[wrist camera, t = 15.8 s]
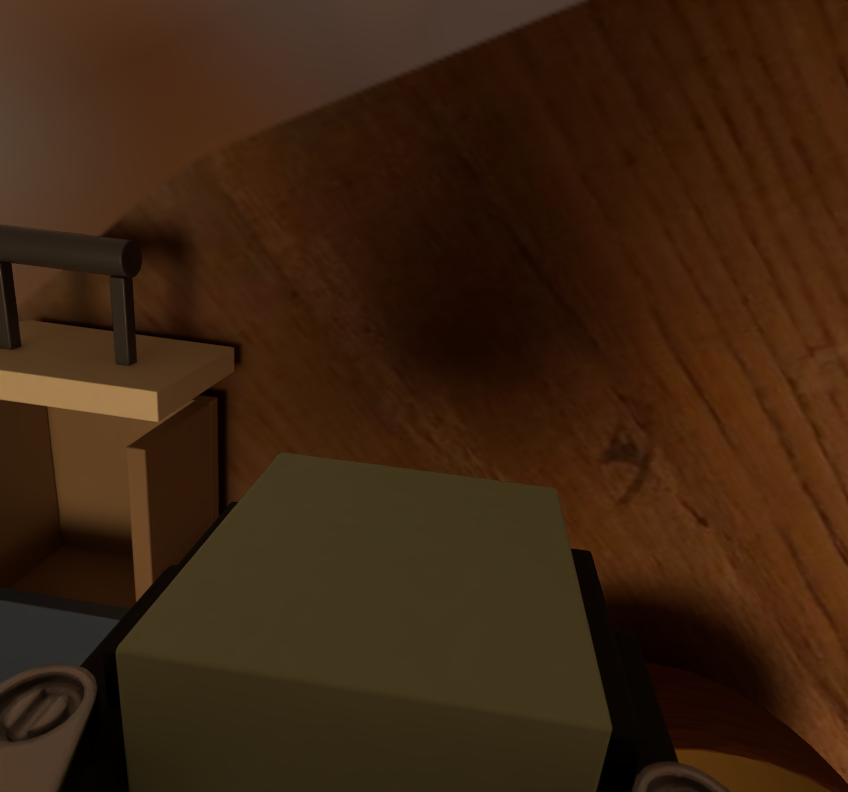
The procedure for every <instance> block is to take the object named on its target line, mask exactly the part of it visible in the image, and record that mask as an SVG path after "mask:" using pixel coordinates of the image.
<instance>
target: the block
mask: <svg viewBox="0 0 848 792" xmlns="http://www.w3.org/2000/svg"><path fill="white" fill-rule="evenodd" d="M116 663H117V673H118V684H119V694H120V704H121V715H122V725H123V735H124V746H125V756H126V766H127V777H128V787H129V792H596V790H597V786H598V783H599V779H600V775H601V771H602V767H603V763H604V759H605V755H606V751H607V747H608V744H609V740H610V736H611V732H612V724H611V720H610V715H609V711H608V707H607V703H606V698H605V694H604V690H603V685H602V681H601V677H600V672H599V668H598V664H597V660H596V655H595V651H594V647H593V642H592V638H591V634H590V630H589V625H588V621H587V617H586V612H585V608H584V604H583V600H582V595H581V591H580V587H579V582H578V578H577V574H576V570H575V565H574V561H573V557H572V552H571V548H570V544H569V540H568V535H567V531H566V527H565V522H564V518H563V514H562V510H561V505H560V501H559V497H558V492H557V489H555V488H552V487H544V486H537V485H529V484H521V483H514V482H506V481H498V480H491V479H483V478H475V477H468V476H460V475H453V474H445V473H437V472H430V471H422V470H414V469H407V468H399V467H392V466H384V465H376V464H369V463H361V462H353V461H346V460H338V459H330V458H323V457H315V456H308V455H300V454H292V453H285V452H282V453H279V454H278V456H277V457H276V458H275V459H274V460H273V462H272V463H271V464H270V465H269V466H268V468H267V469H266V470H265V471H264V472H263V473H262V475H261V476H260V477H259V478H258V479H257V481H256V482H255V483H254V484H253V485H252V487H251V488H250V489H249V490H248V491H247V493H246V494H245V495H244V496H243V497H242V499H241V500H240V501H239V502H238V503H237V504H236V506H235V507H234V508H233V509H232V510H231V512H230V513H229V514H228V515H227V516H226V518H225V519H224V520H223V521H222V522H221V524H220V525H219V526H218V527H217V528H216V530H215V531H214V532H213V533H212V534H211V536H210V537H209V538H208V539H207V540H206V541H205V543H204V544H203V545H202V546H201V547H200V549H199V550H198V551H197V552H196V553H195V555H194V556H193V557H192V558H191V559H190V561H189V562H188V563H187V564H186V565H185V567H184V568H183V569H182V570H181V571H180V572H179V574H178V575H177V576H176V577H175V578H174V580H173V581H172V582H171V583H170V584H169V586H168V587H167V588H166V589H165V590H164V592H163V593H162V594H161V595H160V596H159V598H158V599H157V600H156V601H155V602H154V603H153V605H152V606H151V607H150V608H149V609H148V611H147V612H146V613H145V614H144V615H143V617H142V618H141V619H140V620H139V621H138V623H137V624H136V625H135V626H134V627H133V629H132V630H131V631H130V632H129V633H128V634H127V636H126V637H125V638H124V639H123V640H122V642H121V643H120V644H119V645H118V647H117V649H116Z"/></svg>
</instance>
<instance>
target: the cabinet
mask: <svg viewBox="0 0 848 792" xmlns="http://www.w3.org/2000/svg"><path fill="white" fill-rule="evenodd" d="M220 515H221V514H219V516H220ZM130 609H131V608H125V607H119V606H113V605H107V604H101V603H95V602H88V601H82V600H76V599H70V598H64V597H58V596H52V595H46V594H40V593H34V592H28V591H22V590H16V589H10V588H4V587H0V684H1V683H2V682H4V681H6V680H8V679H9V678H11V677H13V676H15V675H17V674H19V673H21V672H24V671H27V670H30V669H33V668H36V667H39V666H44V665H51V664H57V663H59V664H74V665H77V666H80V665H81V664H82V663H83V662H84V661H85V660H86V659H87V657H88V656H89V655H90V654H91V653H92V652H93V651H94V650H95V648H96V647H97V646H98V645H99V644H100V643H101V642H102V640H103V639H104V638H105V637H106V636H107V635H108V634H109V633H110V631H111V630H112V629H113V628H114V627H115V626H116V625H117V624H118V622H119V621H120V620H121V619H122V618H123V617H124V616H125V614H126V613H127V612H128V611H129V610H130Z"/></svg>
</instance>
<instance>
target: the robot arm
mask: <svg viewBox="0 0 848 792" xmlns="http://www.w3.org/2000/svg"><path fill="white" fill-rule="evenodd" d="M237 503H238V502H232V503H231V504H230V505H229V506H228V507H227V508H226V509H225V510H224V511H223V513H222V514H221V515H220V516H219V517H218V518H217V520H216V521H215V522H214V523H213V524H212V525H211V527H210V528H209V529H208V530H207V531H206V532H205V533H204V535H203V536H202V537H201V538H200V539H199V540H198V542H197V543H196V544H195V545H194V546H193V547H192V549H191V550H190V551H189V552H188V553H187V554H186V556H185V557H184V558H183V559H182V560H181V561H180V562H179V564H178V565H171V566H169V567H168V568H167V569H166V570H165V571H163V573H162V574H161V575H160V576H159V577H158V578H157V579H156V581H155V582H154V583H153V584H152V585H151V586H150V587H149V588H148V590H147V591H146V592H145V593H144V594H143V595H142V596H141V598H140V599H139V600H138V601H137V602H136V603H135V604H134V605H133V607H132V608H131V609H130V610H129V611H128V612H127V613H126V614H125V616H124V617H123V618H122V619H121V620H120V621H119V622H118V624H117V625H116V626H115V627H114V628H113V629H112V630H111V631H110V633H109V634H108V635H107V636H106V637H105V638H104V639H103V640H102V642H101V643H100V644H99V645H98V646H97V647H96V648H95V650H94V651H93V652H92V653H91V654H90V655H89V656H88V657H87V659H86V660H85V661H84V662H83V663H82V664H81V665H80V666H77V665H74V664H59V663H57V664H51V665H44V666H39V667H36V668H33V669H30V670H27V671H24V672H21V673H19V674H17V675H15V676H13V677H11V678H9V679H8V680H6V681H4V682H2V683H1V684H0V792H129V787H128V777H127V766H126V756H125V746H124V735H123V725H122V715H121V704H120V694H119V684H118V673H117V663H116V649H117V647H118V645H119V644H120V643H121V642H122V640H123V639H124V638H125V637H126V636H127V634H128V633H129V632H130V631H131V630H132V629H133V627H134V626H135V625H136V624H137V623H138V621H139V620H140V619H141V618H142V617H143V615H144V614H145V613H146V612H147V611H148V609H149V608H150V607H151V606H152V605H153V603H154V602H155V601H156V600H157V599H158V598H159V596H160V595H161V594H162V593H163V592H164V590H165V589H166V588H167V587H168V586H169V584H170V583H171V582H172V581H173V580H174V578H175V577H176V576H177V575H178V574H179V572H180V571H181V570H182V569H183V568H184V567H185V565H186V564H187V563H188V562H189V561H190V559H191V558H192V557H193V556H194V555H195V553H196V552H197V551H198V550H199V549H200V547H201V546H202V545H203V544H204V543H205V541H206V540H207V539H208V538H209V537H210V536H211V534H212V533H213V532H214V531H215V530H216V528H217V527H218V526H219V525H220V524H221V522H222V521H223V520H224V519H225V518H226V516H227V515H228V514H229V513H230V512H231V510H232V509H233V508H234V507H235V506H236V504H237ZM571 552H572V557H573V561H574V565H575V570H576V574H577V578H578V582H579V587H580V591H581V595H582V600H583V604H584V608H585V612H586V617H587V621H588V625H589V630H590V634H591V638H592V642H593V647H594V651H595V655H596V660H597V664H598V668H599V672H600V677H601V681H602V685H603V690H604V694H605V698H606V703H607V707H608V711H609V715H610V720H611V724H612V732H611V736H610V740H609V744H608V747H607V751H606V755H605V759H604V763H603V767H602V771H601V775H600V779H599V783H598V786H597V790H596V792H730V791H729V790H728V789H727V788H726V787H725V786H723V785H722V784H721V783H719V782H718V781H717V780H716V779H714V778H713V777H712V776H710V775H708V774H706V773H704V772H702V771H700V770H698V769H697V768H695V767H693V766H689V765H685V764H682V763H679V762H678V759H677V756H676V753H675V750H674V747H673V744H672V741H671V738H670V735H669V732H668V729H667V726H666V723H665V720H664V717H663V714H662V711H661V708H660V705H659V702H658V699H657V696H656V693H655V690H654V687H653V684H652V681H651V678H650V675H649V672H648V669H647V666H646V663H645V660H644V657H643V655H642V652H641V649H640V646H639V643H638V640H637V638H636V636H635V634H634V633H632V632H630V631H624V630H617V629H613V627H612V624H611V620H610V617H609V613H608V610H607V606H606V603H605V599H604V596H603V592H602V589H601V585H600V582H599V578H598V575H597V571H596V568H595V564H594V561H593V558H592V554H591V552H590V551H586V550H578V549H571Z"/></svg>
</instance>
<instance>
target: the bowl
mask: <svg viewBox="0 0 848 792" xmlns="http://www.w3.org/2000/svg"><path fill="white" fill-rule="evenodd" d="M646 666H647V669H648V672H649V675H650V678H651V681H652V684H653V687H654V690H655V693H656V696H657V699H658V702H659V705H660V708H661V711H662V714H663V717H664V720H665V723H666V726H667V729H668V732H669V735H670V738H671V741H672V744H673V747H674V750H675V753H676V756H677V759H678V762H679V763H682V764H685V765H689V766H693V767H695V768H697V769H698V770H700V771H702V772H704V773H706V774H708V775H710V776H712V777H713V778H714V779H716V780H717V781H718V782H719V783H721V784H722V785H723V786H725V787H726V788H727V789H728V790H729V791H730V792H848V784H847V783H846V782H845V780H844V779H843V778H842V777H841V776H840V775H839V774H838V773H837V772H836V771H835V770H834V769H833V768H832V767H831V766H830V765H829V764H828V763H827V762H826V761H825V760H824V759H823V758H822V757H821V756H820V755H819V753H818V752H817V751H816V750H815V749H814V748H813V747H812V746H810V745H809V744H808V743H807V742H806V741H805V740H803V739H802V738H801V737H800V736H799V735H798V734H796V733H795V732H794V731H793V730H792V729H791V728H789V727H788V726H787V725H786V724H784V723H783V722H781V721H780V720H779V719H777V718H776V717H774V716H773V715H771V714H770V713H769V712H767V711H766V710H764V709H763V708H761V707H760V706H759V705H757V704H755V703H753V702H752V701H750V700H748V699H746V698H745V697H743V696H741V695H739V694H738V693H736V692H734V691H732V690H731V689H729V688H727V687H725V686H724V685H721V684H719V683H717V682H714V681H712V680H710V679H707V678H705V677H702V676H700V675H697V674H695V673H692V672H690V671H686V670H682V669H677V668H673V667H668V666H664V665H659V664H655V663H646Z"/></svg>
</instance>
